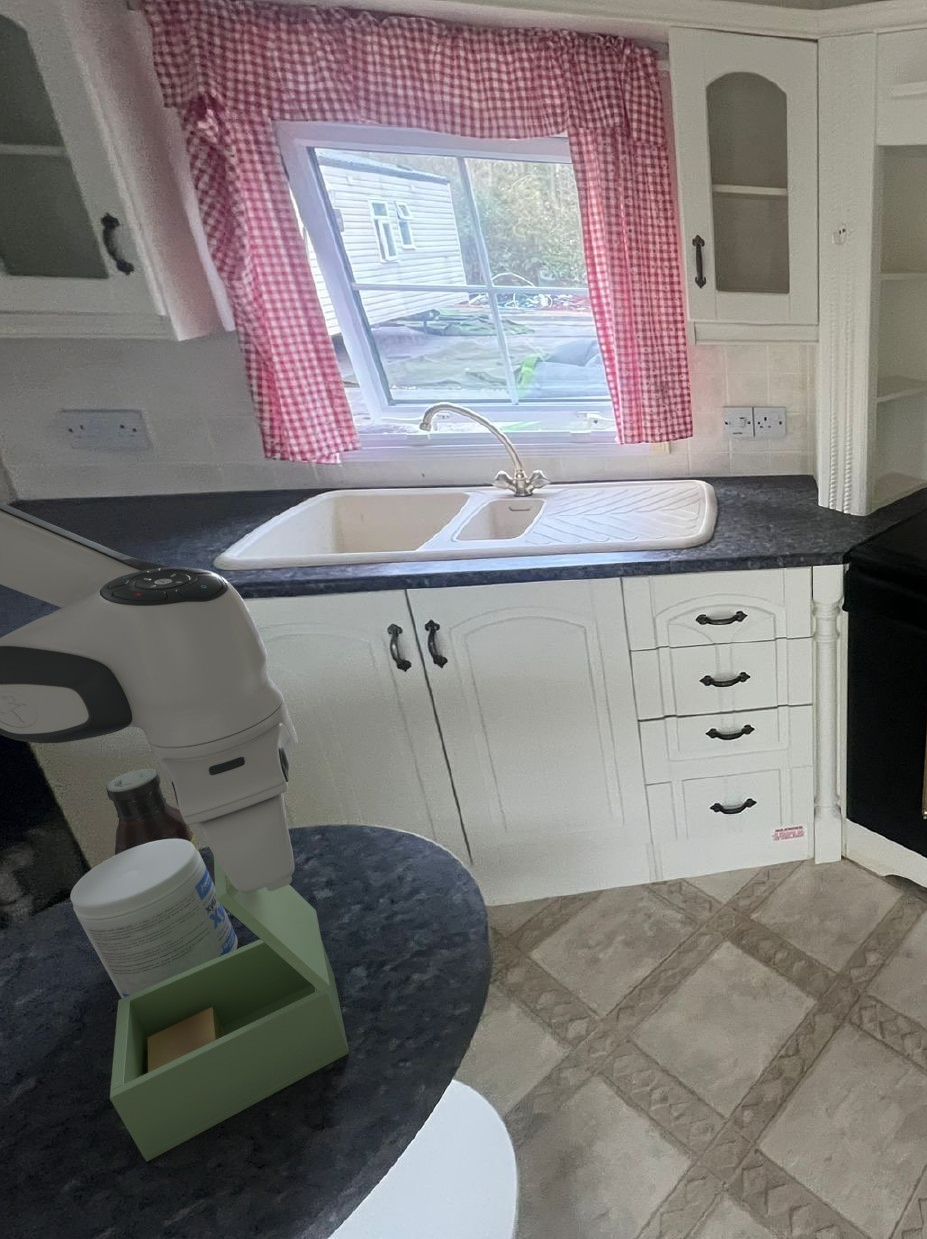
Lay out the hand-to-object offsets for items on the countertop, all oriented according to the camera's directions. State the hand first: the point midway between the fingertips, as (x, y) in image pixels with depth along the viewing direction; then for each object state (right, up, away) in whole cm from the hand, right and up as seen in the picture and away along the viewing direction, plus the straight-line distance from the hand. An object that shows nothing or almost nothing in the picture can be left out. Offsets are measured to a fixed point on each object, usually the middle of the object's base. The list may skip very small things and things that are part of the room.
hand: (277, 863), depth 70 cm
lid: (-2, -5, +1) cm, 5 cm away
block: (-9, -21, +1) cm, 23 cm away
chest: (-6, -21, +4) cm, 22 cm away
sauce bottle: (-28, -14, +19) cm, 36 cm away
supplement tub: (-21, -17, +12) cm, 30 cm away
